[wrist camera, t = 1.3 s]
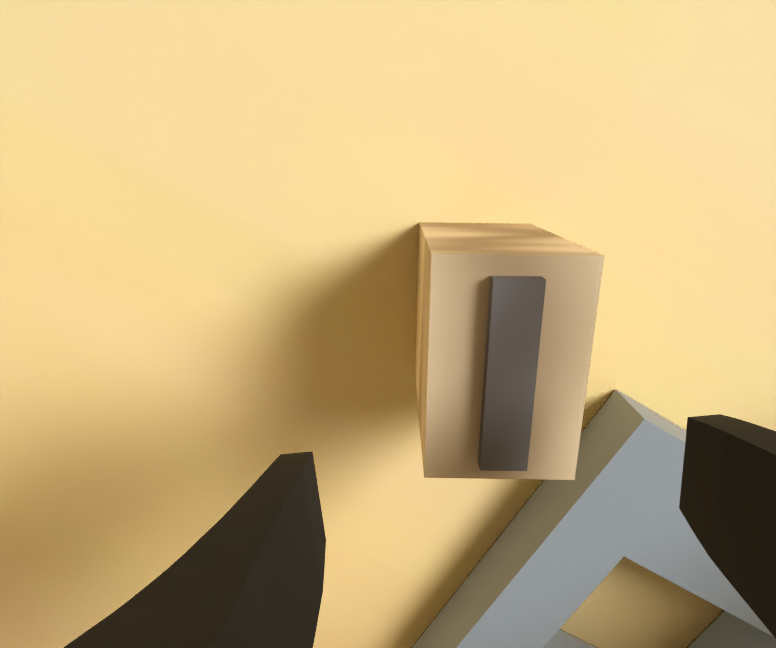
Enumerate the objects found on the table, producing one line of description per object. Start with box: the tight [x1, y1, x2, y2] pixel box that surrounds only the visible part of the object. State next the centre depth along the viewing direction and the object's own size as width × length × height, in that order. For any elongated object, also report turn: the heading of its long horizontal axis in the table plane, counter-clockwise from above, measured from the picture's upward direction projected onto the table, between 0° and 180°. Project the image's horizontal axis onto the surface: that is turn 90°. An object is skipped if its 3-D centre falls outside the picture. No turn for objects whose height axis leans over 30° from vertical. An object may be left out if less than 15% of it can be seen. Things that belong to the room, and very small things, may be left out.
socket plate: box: [412, 390, 776, 648], centre depth 22 cm, size 16×14×2 cm
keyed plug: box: [415, 223, 604, 480], centre depth 16 cm, size 4×6×7 cm, turn 0°
